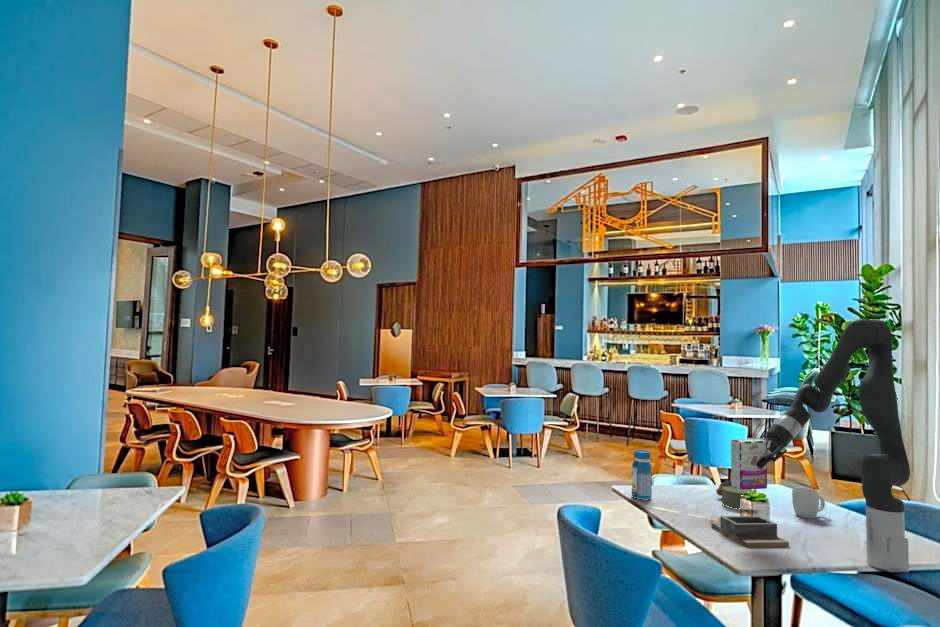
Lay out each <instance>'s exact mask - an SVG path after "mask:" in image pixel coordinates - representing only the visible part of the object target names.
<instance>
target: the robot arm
mask: <svg viewBox="0 0 940 627" xmlns="http://www.w3.org/2000/svg"><path fill="white" fill-rule="evenodd" d="M859 349H867V352H868V367H867V370H866V372H865V375H864V376H863V377H862V380H861V383H860V386H859V401H860V402H859V403H860V408H861V413H862V415H863V416H864V418H865V419H866V421H867V423H868V424H869V425H870V427H871V428H872V430H873V431H874V433H875V435H876V437H877V441H878V442H879V443H878V444H879V448H880V449H879V450H880V453H878V454H877V453H875V454H868V455H866V456H864V457H863V459H862V461H861V465H860V477H861V478H860V479H861V489H862V496H863V497H864V500H865V522H866V523H865V524H866V525H865V526H866V530H865V532H866V534H865V535H866V536H865V537H866V562H867V564H868V565H869V566H871V567H873V568H876V569H880V570H884V571H886V572H889V573H909V572H910V563H909V562H910V561H909V559H910V557H909V553H910V552H909V539H908V538H906V534H905V532H906V531H905V530H906V529H905V527H906V526H905V504H904V502H903V500H901V499H899V498H897V497H895V496H894V495H893V492H892V486H895V487H896V486H903V485H906V484H907V482H909V480H910V477H911V467H910V463H909V459H908V455H907V452H906V451H907V450H906V447H905V444H904V439H903V435H902V434H903V433H902V428H901V422H900V416H899V415H900V414H899V407H898V399H897V391H896V387H895V386H896V385H895V379H894V369H893V338H892V331H891V327H890V326H889V324H888V323H887V322H885V321H884V320H881V319H865V318H858V319H854V320H851V321H850V322H849V323H848V324H847V325H846V327H845V328H844V330H843V332H842V333H841V336H840V337H839V340H838V341H837V343H836V345H835V347H834V350H832V354H831V355H830V357H829V359H828V360H827V362H826V363H825V365H824V366H823V367H822V368H821V369H820V370H819V372H818V373H817V375H816V376H815V377H814V378H813V385H814V386H813V385H812V384H809V383H806V384H802V385H801V386H800V387H799V388H798V389H797V391H796V394H795V397H794V400H793V401H792V402H791V405H790V406H789V407H788V408H787V410H786V411H785V412H784V413H783V414H782V415H781V416H780V417H778V419H777V420H776V421H774V423H773V424H772V425H771V426H770V427H769V428H768V430H767V431H766V432H765V435H766V437H765V438H763V439H762V440H764V441H767V449H766V450H765V454H764V457H762V458H761V459H760V460H759V461H758V462H757V464H756V466H757V467H758V468H759V469H762V468H763V467H764V466H765V465H766V464H768V463H770V462H774V463H775V462H776V461H778V459H780V458H781V457H783V455H785V454H786V453H787V451H788V450H787V448H786V447H787V446H789V445H790V443H791V442H792V441H793V440H794V439H795V437H797V436H798V434H799V433H800V431H801V429H802V428H803V427H804V426H805V425H806V424H807V423H808V421H809V420H810V419H811V413H810V412H809V410H808V409H806V408H805V407H804V406H803V405H805V406H806V407H808V408H809V409H811V410H812V411H813V412H815V413H823V412H825V411H827V409H828V408H829V407H830V404H831V402H832V399H833V396H834V393H835V391H836V390H837V389H838V387H839V386H840V385H841V384H842V383H843V382H844V380H845V379H846V378H847V376H848V374H849V368H850V367H849V365H850V359H851V358H852V356H853V355H854V354H855V353H856V352H857V351H858V350H859Z"/></svg>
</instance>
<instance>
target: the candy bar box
mask: <svg viewBox="0 0 940 627" xmlns="http://www.w3.org/2000/svg"><path fill="white" fill-rule="evenodd" d="M766 449H767V441H764V440H763V439H759V438H744V439H743V438H741V439H739V438H737V439H735V438H734V439H730V481H731V486H732V487H734V488H737V489H740V490H748V489H750V490H763V489H764V490H766V489H767V488H768V465H767V464H768V463H767V464H766V465H765V466H764V467H763V468H762V469H759V468H758V467H757V466H756V464H757V462H758V461H759V460H760V459H761V458H762V457H764V454H765V450H766Z"/></svg>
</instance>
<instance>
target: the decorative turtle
mask: <svg viewBox="0 0 940 627" xmlns="http://www.w3.org/2000/svg"><path fill="white" fill-rule="evenodd" d="M723 486H731V480H726V481H723V482H721V483H720V484H719V486H718V488H716V490H715V492H716V494H717V495H718V496H721V497H722V489H721V488H722V487H723Z"/></svg>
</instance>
